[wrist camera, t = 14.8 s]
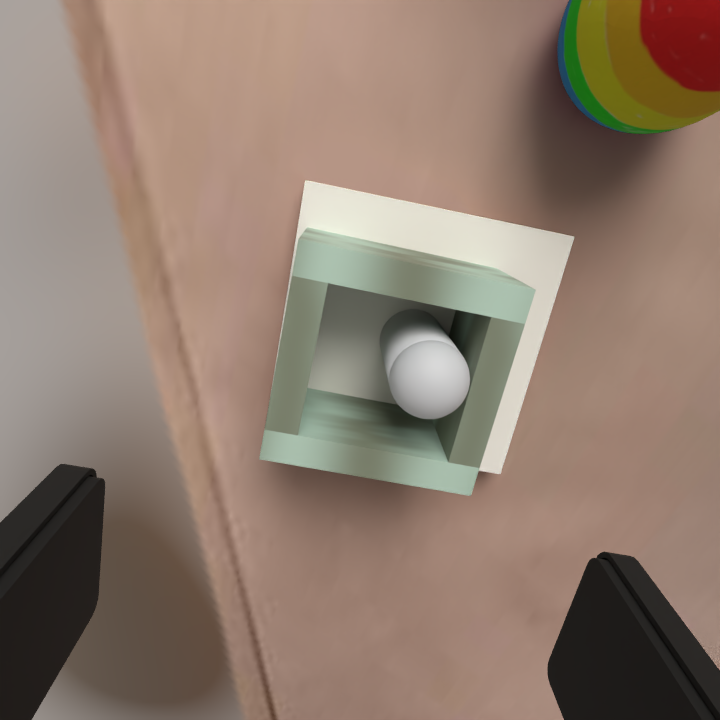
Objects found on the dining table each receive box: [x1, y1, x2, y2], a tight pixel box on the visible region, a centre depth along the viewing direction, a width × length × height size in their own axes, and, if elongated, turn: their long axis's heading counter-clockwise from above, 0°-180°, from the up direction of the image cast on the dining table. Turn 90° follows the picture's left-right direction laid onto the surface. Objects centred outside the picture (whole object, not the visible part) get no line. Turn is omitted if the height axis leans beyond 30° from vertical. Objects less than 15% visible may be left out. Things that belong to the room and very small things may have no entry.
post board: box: [271, 180, 574, 474], centre depth 26 cm, size 14×14×9 cm
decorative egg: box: [557, 0, 720, 134], centre depth 22 cm, size 8×8×10 cm
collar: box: [259, 227, 536, 496], centre depth 26 cm, size 10×10×6 cm
